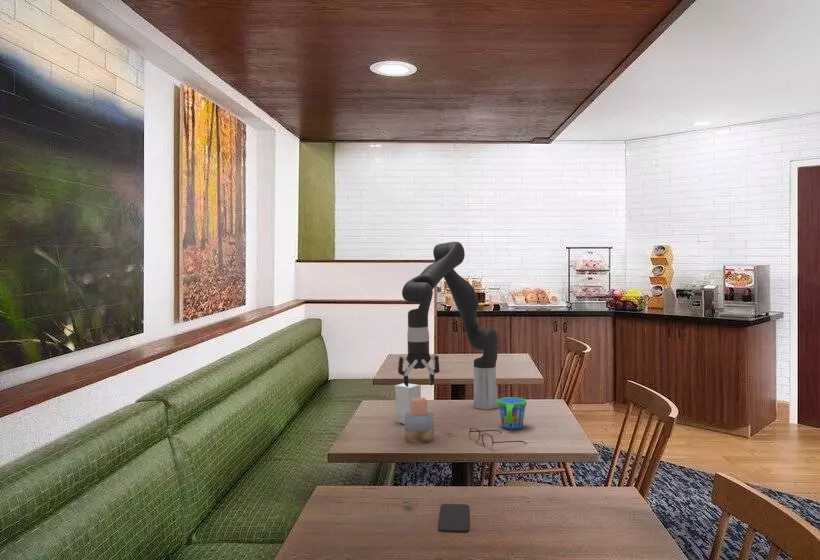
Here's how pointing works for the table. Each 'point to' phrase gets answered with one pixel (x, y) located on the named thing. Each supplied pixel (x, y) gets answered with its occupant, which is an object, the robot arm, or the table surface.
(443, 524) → the phone
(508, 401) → the snack cup
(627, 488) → the table surface
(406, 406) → the skincare box
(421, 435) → the disc
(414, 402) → the terracotta cube
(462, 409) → the table surface
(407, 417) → the slate top puck
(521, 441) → the glasses
